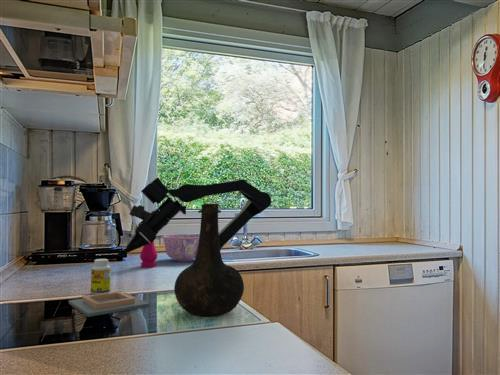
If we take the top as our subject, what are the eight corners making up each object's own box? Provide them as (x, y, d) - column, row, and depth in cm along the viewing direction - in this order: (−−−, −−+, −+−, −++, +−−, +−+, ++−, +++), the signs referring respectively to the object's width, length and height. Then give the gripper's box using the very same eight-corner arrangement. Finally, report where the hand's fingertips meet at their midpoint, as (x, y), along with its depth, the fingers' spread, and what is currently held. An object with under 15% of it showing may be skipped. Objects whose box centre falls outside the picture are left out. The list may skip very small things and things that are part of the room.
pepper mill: (152, 268, 167) (153, 220, 167) (136, 267, 168) (137, 220, 169) (159, 265, 174) (160, 219, 175) (144, 264, 175) (145, 219, 176)
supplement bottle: (86, 293, 120) (87, 259, 121) (101, 290, 125) (102, 257, 125) (99, 296, 118) (100, 261, 118) (114, 292, 122) (114, 259, 123)
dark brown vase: (218, 328, 90) (220, 203, 91) (158, 315, 98) (160, 202, 99) (256, 309, 105) (257, 203, 106) (201, 300, 114) (202, 203, 115)
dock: (125, 295, 119) (125, 288, 119) (149, 306, 107) (149, 298, 107) (68, 303, 109) (68, 296, 109) (88, 316, 97) (88, 308, 97)
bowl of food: (194, 264, 177) (194, 238, 178) (154, 262, 183) (154, 237, 183) (210, 258, 197) (211, 235, 197) (173, 256, 202) (174, 233, 202)
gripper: (145, 196, 135) (110, 229, 131) (145, 196, 116) (104, 234, 113) (168, 220, 136) (134, 253, 133) (172, 223, 118) (132, 261, 115)
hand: (126, 249), depth 124 cm, fingers open, 9 cm apart
